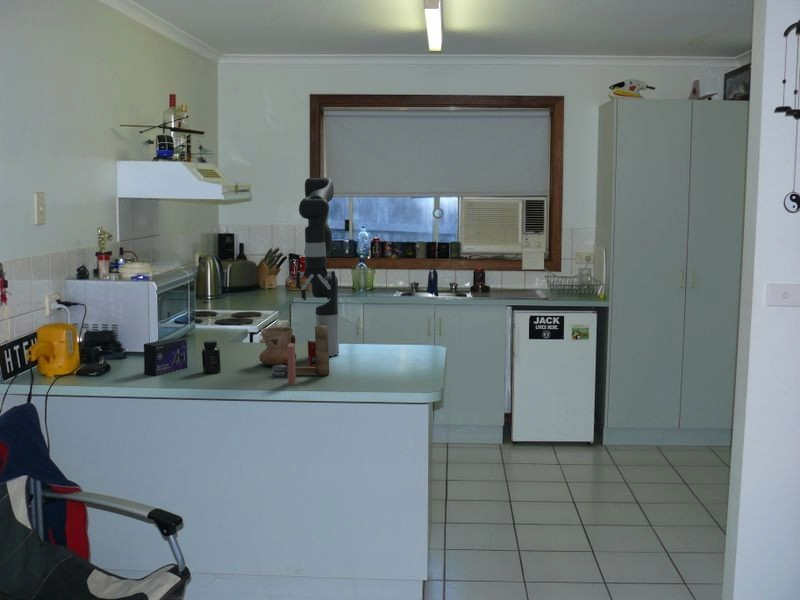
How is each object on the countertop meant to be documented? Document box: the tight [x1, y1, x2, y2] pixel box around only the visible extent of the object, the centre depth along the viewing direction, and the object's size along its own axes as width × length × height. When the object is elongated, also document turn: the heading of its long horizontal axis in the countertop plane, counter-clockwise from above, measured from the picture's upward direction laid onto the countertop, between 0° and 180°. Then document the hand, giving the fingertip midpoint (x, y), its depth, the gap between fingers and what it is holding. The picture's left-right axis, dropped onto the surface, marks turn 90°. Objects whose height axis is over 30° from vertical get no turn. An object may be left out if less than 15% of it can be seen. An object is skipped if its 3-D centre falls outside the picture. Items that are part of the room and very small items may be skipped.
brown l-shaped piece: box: [272, 325, 330, 377], centre depth 331 cm, size 5×21×18 cm, turn 90°
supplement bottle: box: [201, 339, 222, 375], centre depth 340 cm, size 7×7×12 cm
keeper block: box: [286, 342, 298, 387], centre depth 319 cm, size 7×3×14 cm, turn 0°
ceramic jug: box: [259, 326, 297, 367], centre depth 352 cm, size 18×14×14 cm
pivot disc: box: [271, 369, 288, 378], centre depth 332 cm, size 6×6×2 cm
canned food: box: [307, 337, 316, 367], centre depth 347 cm, size 8×8×11 cm
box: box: [143, 336, 188, 376], centre depth 343 cm, size 17×7×12 cm, turn 149°
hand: (316, 299), depth 322 cm, fingers open, 8 cm apart
